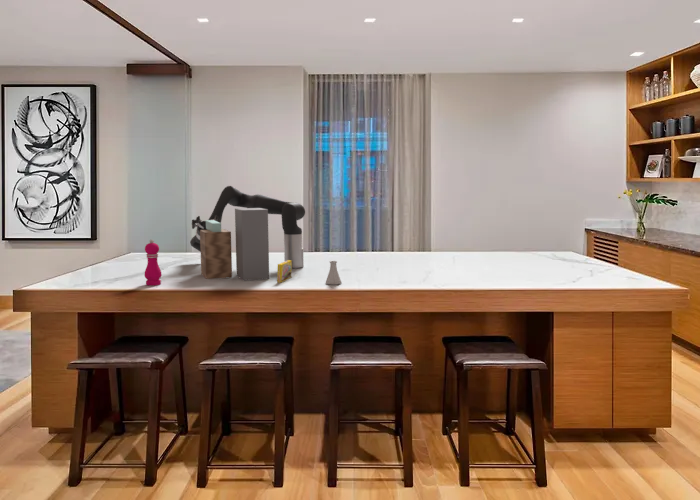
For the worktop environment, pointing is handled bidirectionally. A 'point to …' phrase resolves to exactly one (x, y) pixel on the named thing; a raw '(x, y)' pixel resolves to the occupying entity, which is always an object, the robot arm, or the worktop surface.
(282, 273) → the candy box
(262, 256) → the tall podium
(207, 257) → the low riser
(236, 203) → the robot arm
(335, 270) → the flask
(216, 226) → the slim carton
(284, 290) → the worktop surface
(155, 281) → the pepper mill
